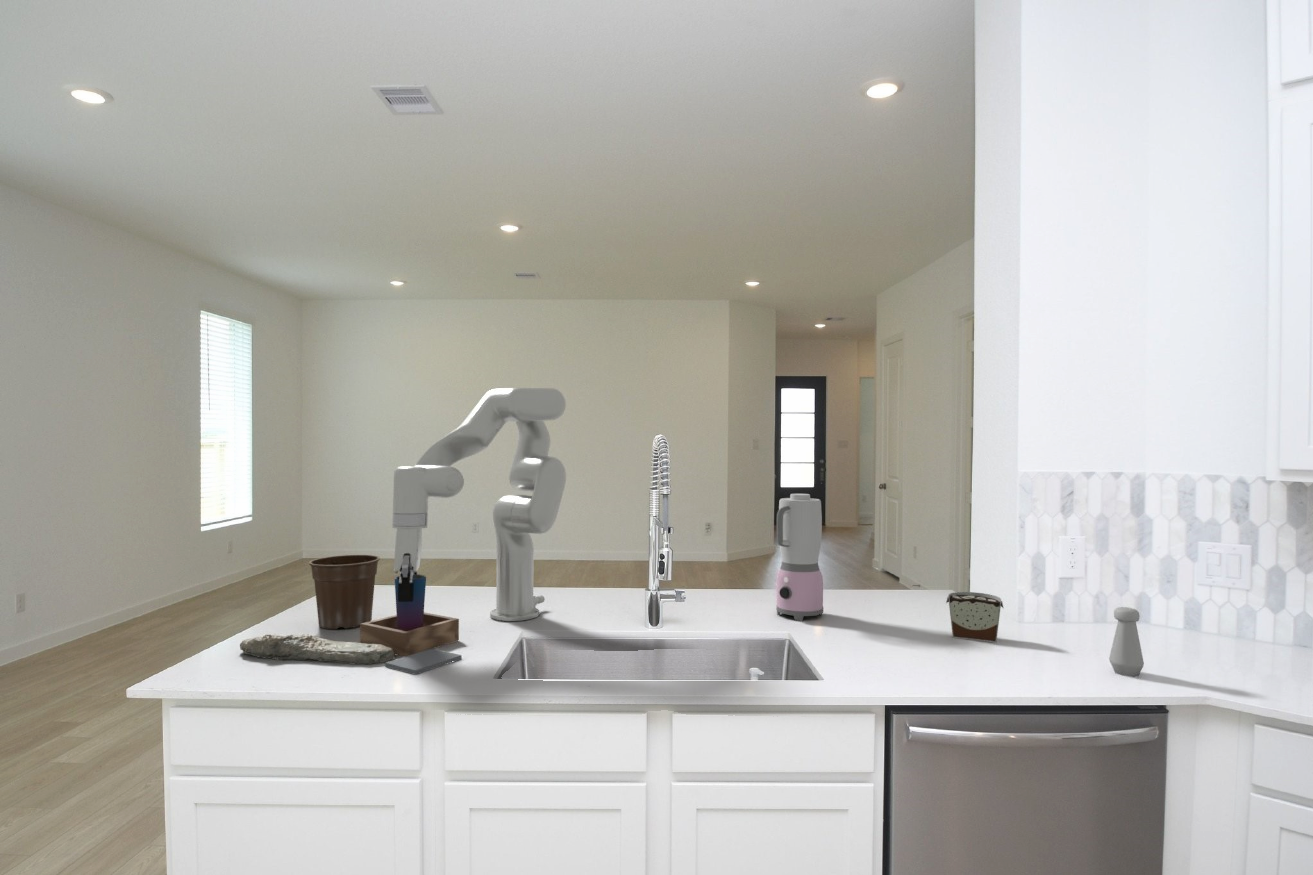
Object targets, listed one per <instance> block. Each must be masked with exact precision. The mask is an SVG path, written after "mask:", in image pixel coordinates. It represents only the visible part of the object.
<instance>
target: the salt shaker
mask: <svg viewBox="0 0 1313 875" xmlns="http://www.w3.org/2000/svg"><path fill="white" fill-rule="evenodd" d="M1113 617H1114V619H1115V620H1117V625H1116V627H1115V632H1114V637H1113V641H1112V645H1111V649H1110V654H1109V657H1108V659H1109V663H1110V664H1111V666H1112V668H1113V672H1114V673H1115V674H1118V675H1121V676H1124V677H1133V678H1134V677H1137V676H1139V675H1140V673H1141V671H1143V668H1144V665H1145V663H1144V658H1143V657H1144V656H1143V652H1142V647H1141V641H1140V637H1139V631H1138V627H1137V622H1139V620H1140V617H1141V616H1140V613H1139V611H1138V610H1137V609H1135V608H1132V607H1126V606H1119V607H1116V608H1114V610H1113Z"/></svg>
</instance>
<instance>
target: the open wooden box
mask: <svg viewBox="0 0 1313 875" xmlns="http://www.w3.org/2000/svg"><path fill="white" fill-rule="evenodd" d="M459 630H460V619H459V618H456V617H451V616H445V615H441V614H437V613H436V614H434V613H429V612H426V611H424V616H423V627H420V628H417V629H413V630H409V631H402V630H397V614H395V615H391V616H387V617H383V618H379V619H374V620H371V621H369V622H365V623H361V624H360V627H359V643H366V644H381V645H384V646H386V647H389V648H392V649H393V652H394V654H396V655H395V656H398V657H399V656H400V657H406V656H409V655H412V654H416V653H419V652H422V651H425V650H429V649H437V648H440V647H442V645H443V646H445V645H446V646H447V645H449V644H451V643H452V642H453V643H456V642H459V641H460V640H459V636H460V635H459V634H460V631H459ZM458 640H459V641H458ZM453 643H452V644H453Z"/></svg>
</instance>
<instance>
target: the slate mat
mask: <svg viewBox="0 0 1313 875" xmlns="http://www.w3.org/2000/svg"><path fill="white" fill-rule="evenodd" d="M456 660H457V661H459V660H462V654H458V653H453V652H450V651H446V650H445V651H444V650H440V649H437V648H433V649H429V650H425V651H422V652H419V653H416V654H412V655H409V656H406V657H403V656H401V657H400V658H396V659H392V660H391V661H389V662H385V663H384V664H385V665H384V666H385V667H386V668H390V669H393V670H398V671H401V672H404V673H408V674H413V675H417V674H421V673H423V672H426V671H430V670H433V669H436V668H439V667H442V666H444V665H448V664H450V662H451V663H453V662H452V661H454V662H457V661H456ZM447 663H448V664H447ZM441 665H442V666H441Z"/></svg>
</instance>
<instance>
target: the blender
mask: <svg viewBox="0 0 1313 875" xmlns="http://www.w3.org/2000/svg"><path fill="white" fill-rule="evenodd" d="M778 503H779V504H778V510H777V512H776V544H778V546H779V551H780V555H781V558H780V559H781V565H780V567H779V570H778V572H777V574H776V575H777V576H776V605H775V606H776V615H777V616H778V615H780V616H781V614H783V615H787V616H788V615H789V616H793V618H794V619H796V620H795V621H798V620H802V621H803V620H804V617H813V616H818V615H819V614H820V615H819V616H823V613H824V578H823V574H822V571H821V570H820V566H819V556H820V554H821V553H820V552H821V551H820V550H821V545H822V537H823V535H822V534H823V533H822V532H823V528H822V527H823V524H822V523H823V519H822V518H823V516H822V515H823V514H822V501H821V499H819V498H811V494H809V493H790V495H789V497H784V498H780V499H779V502H778Z"/></svg>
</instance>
